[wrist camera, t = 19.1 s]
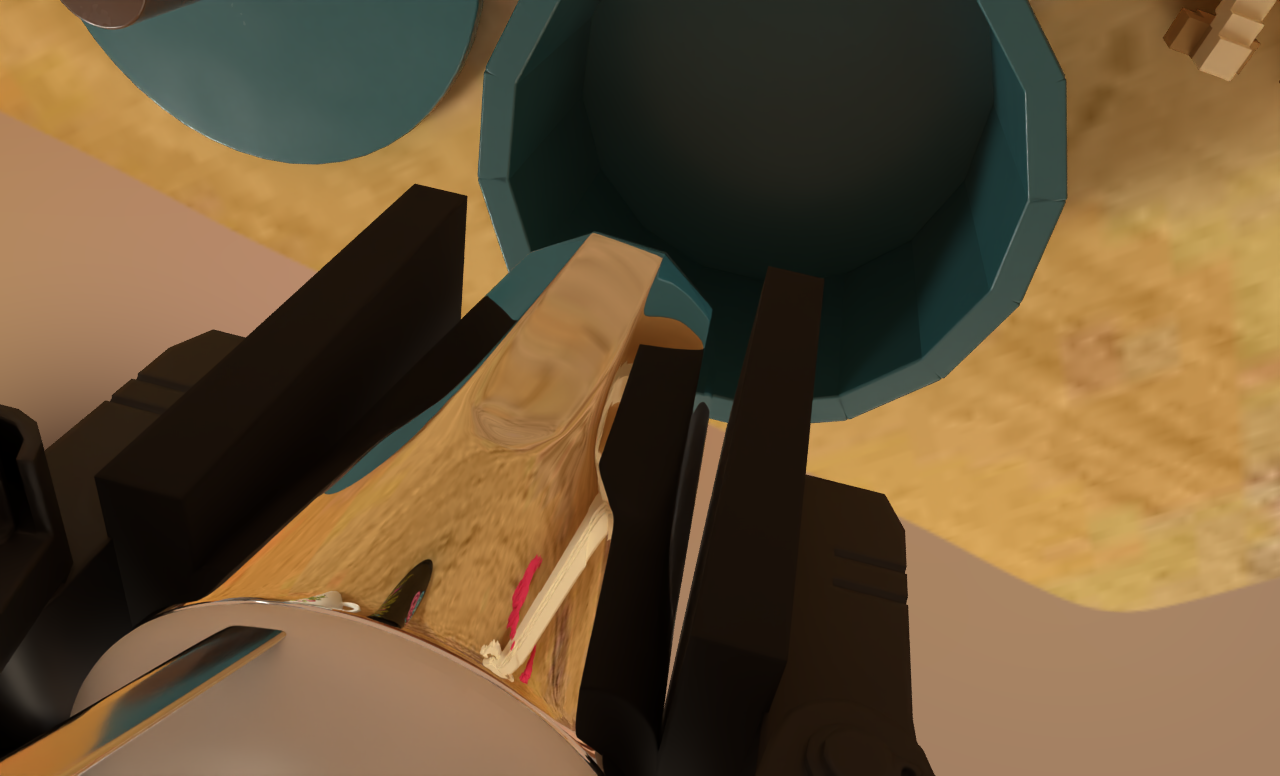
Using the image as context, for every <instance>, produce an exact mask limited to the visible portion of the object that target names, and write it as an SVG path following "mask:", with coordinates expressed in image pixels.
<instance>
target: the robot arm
mask: <svg viewBox="0 0 1280 776" xmlns="http://www.w3.org/2000/svg"><path fill="white" fill-rule="evenodd" d="M466 213H467V196H465V195H461V194H457V193H453V192H448V191H444V190H440V189H435V188H431V187H427V186H422V185H418V184H414V185H413V186H412V187H411V188H409V189H408V190H407V191H406V192H405V193H404V194H403V195H402V196H401V197H400V198H399V199H397V200H396V201H395V202H394V203H393V204H392V205H391V206H390V207H389V208H388V209H386V210H385V211H384V212H383V213H382V214H381V215H380V216H379V217H378V218H377V219H375V220H374V221H373V222H372V223H371V224H370V225H369V226H368V227H367V228H366V229H365V230H363V231H362V232H361V233H360V234H359V235H358V236H357V237H356V238H355V239H354V240H352V241H351V242H350V243H349V244H348V245H347V246H346V247H345V248H344V249H343V250H341V251H340V252H339V253H338V254H337V255H336V256H335V257H334V258H333V259H332V260H331V261H329V262H328V263H327V264H326V265H325V266H324V267H323V268H322V269H321V270H320V271H318V272H317V273H316V274H315V275H314V276H313V277H312V278H311V279H310V280H309V281H308V282H306V283H305V284H304V285H303V286H302V287H301V288H300V289H299V290H298V291H297V292H295V293H294V294H293V295H292V296H291V297H290V298H289V299H288V300H287V301H286V302H284V304H282V305H281V306H280V307H279V308H278V309H277V310H276V311H275V312H274V313H272V314H271V315H270V316H269V317H268V318H267V319H266V320H265V321H264V322H263V323H261V324H260V325H259V326H258V327H257V328H256V329H255V330H254V331H253V332H252V333H250V334H249V335H248V336H247V337H246V338H245V337H241V336H237V335H232V334H229V333H225V332H221V331H217V330H211V331H208V332H206V333H204V334H201V335H199V336H196V337H194V338H192V339H189V340H187V341H184V342H182V343H179V344H177V345H175V346H172V347H170V348H168V349H167V350H166V351H165V352H163V353H162V354H161V355H160V356H159V357H158V358H156V359H155V360H154V361H153V362H151V363H150V364H149V365H148V366H147V367H145V368H144V369H143V370H142V371H140V372H139V373H138V377H137V379H136V380H135V379H131V380H130V381H128V382H127V383H126V384H125V385H124V386H123V387H121V388H120V389H119V390H117V391H116V392H115V393H114V394H113V395H112V399H111V401H110V402H109V401H104V402H103V403H102V404H101V405H99V406H98V407H97V408H96V409H95V410H93V411H92V412H91V413H90V414H88V415H87V416H86V417H85V418H84V419H82V420H81V421H80V422H79V423H78V424H76V425H75V426H74V427H73V428H72V429H70V430H69V431H68V432H67V433H66V434H64V435H63V436H62V437H61V438H60V439H58V440H57V441H56V442H55V443H53V444H52V445H51V446H50V447H49V448H47V449H46V450H45V451H44V447H43V443H42V440H41V436H40V433H39V429H38V425H37V422H35V421H34V420H33V419H31V418H30V417H29V416H27V415H26V414H24V413H23V412H22V411H20V410H19V409H16V408H12V407H8V406H4V405H0V758H2V757H3V756H5V755H7V754H9V753H10V752H12V751H14V750H15V749H17V748H19V747H21V746H22V745H24V744H26V743H27V742H29V741H31V740H33V739H34V738H36V737H38V736H39V735H41V734H43V733H44V732H46V731H48V730H50V729H51V728H53V727H55V726H56V725H58V724H60V723H62V722H63V721H65V720H67V719H68V718H70V715H71V712H72V708H73V705H74V702H75V700H76V697H77V695H78V692H79V690H80V688H81V686H82V684H83V682H84V680H85V679H86V677H87V676H88V674H89V672H90V671H91V669H92V668H93V667H94V665H95V664H96V663H97V662H98V660H99V659H100V658H101V657H102V655H103V654H104V653H105V652H106V651H107V650H108V649H109V648H110V647H112V646H113V645H114V644H115V643H116V642H117V641H119V640H120V639H121V638H123V637H124V636H125V635H126V634H127V633H128V632H129V631H130V630H131V629H132V628H133V627H134V626H136V625H137V624H138V623H139V622H140V621H141V620H142V619H143V618H144V617H145V616H146V615H147V614H149V613H150V612H151V611H152V610H153V609H154V608H155V607H156V606H157V605H158V604H159V603H161V602H162V601H163V600H164V599H165V598H166V597H167V596H168V595H169V594H170V593H172V592H173V591H174V590H175V589H176V588H177V587H178V586H179V585H180V584H181V583H183V582H184V581H185V580H186V579H187V578H188V577H189V576H190V575H191V574H192V573H194V572H195V571H196V570H197V569H198V568H199V567H200V566H201V565H202V564H203V563H205V562H206V561H207V560H208V559H209V558H210V557H211V556H212V555H213V554H214V553H216V552H217V551H218V550H219V549H220V548H221V547H222V546H223V545H224V544H225V543H227V542H228V541H229V540H230V539H231V538H232V537H233V536H234V535H235V534H236V533H238V532H239V531H240V530H241V529H242V528H243V527H244V526H245V525H246V524H247V523H249V522H250V521H251V520H252V519H253V518H254V517H255V516H256V515H257V514H258V513H260V512H261V511H262V510H263V509H264V508H265V507H266V506H267V505H268V504H269V503H271V502H272V501H273V500H274V499H275V498H276V497H277V496H278V495H279V494H280V493H282V492H283V491H284V490H285V489H286V488H287V487H288V486H289V485H290V484H291V483H293V482H294V481H295V480H296V479H297V478H298V477H299V476H300V475H301V474H302V473H303V472H305V471H306V470H307V469H308V468H309V467H310V466H311V465H312V464H313V463H314V462H315V461H316V460H318V459H319V458H320V457H321V456H322V455H323V454H324V453H325V452H326V451H327V450H328V449H329V448H330V447H331V446H332V445H334V444H335V443H336V442H337V441H338V440H339V439H340V438H341V437H342V436H343V435H344V434H345V433H346V432H347V431H348V430H349V429H350V428H351V427H352V426H353V425H354V424H355V423H356V422H357V421H358V420H359V419H360V418H361V417H362V416H363V415H364V414H365V413H366V412H367V411H368V410H369V409H370V408H371V407H372V406H373V405H374V404H375V403H376V402H377V401H378V400H379V399H380V398H382V397H383V396H384V395H385V394H386V393H387V392H388V391H389V390H390V389H391V388H392V387H393V386H394V385H395V384H396V383H397V382H398V381H399V380H400V379H401V378H402V377H403V376H404V375H405V374H406V373H407V372H408V371H409V370H410V369H411V368H412V367H413V366H414V365H415V364H416V363H417V362H418V361H419V360H420V359H421V358H422V357H423V356H424V355H425V354H426V353H427V352H428V351H429V350H430V349H431V348H432V347H433V346H434V345H435V344H436V343H437V342H438V341H440V340H441V339H442V338H443V337H444V336H445V335H446V334H447V333H448V332H449V331H450V330H451V329H452V328H453V327H454V326H455V325H456V324H457V323H458V322H459V321H460V320H461V306H462V287H463V269H464V250H465V231H466ZM823 288H824V279H823V278H818V277H814V276H810V275H806V274H801V273H797V272H793V271H788V270H784V269H780V268H775V267H771V266H768V269H767V273H766V277H765V281H764V285H763V288H762V292H761V296H760V300H759V304H758V308H757V312H756V316H755V319H754V323H753V327H752V331H751V335H750V339H749V343H748V347H747V350H746V354H745V358H744V362H743V366H742V370H741V374H740V378H739V381H738V385H737V389H736V393H735V397H734V401H733V405H732V409H731V412H730V416H729V420H728V424H727V428H726V433H725V437H724V442H723V446H722V451H721V455H720V460H719V464H718V469H717V473H716V478H715V482H714V487H713V492H712V496H711V500H710V504H709V509H708V513H707V518H706V523H705V527H704V531H703V536H702V540H701V545H700V550H699V554H698V559H697V563H696V568H695V572H694V576H693V581H692V585H691V591H690V594H689V599H688V603H687V608H686V612H685V617H684V622H683V626H682V630H681V635H680V639H679V644H678V649H677V653H676V657H675V662H674V666H673V671H672V675H671V680H670V685H669V689H668V694H667V698H666V703H665V707H664V712H663V720H662V727H661V735H660V743H659V751H658V759H657V766H656V774H655V776H935V775H934V773H933V770H932V769H931V766H930V764H929V762H928V760H927V757H926V755H925V753H924V751H923V749H922V748H921V747H920V746H919V745H918V743H917V741H916V735H915V730H914V724H913V716H912V715H913V714H912V690H911V665H910V641H909V616H908V605H906V602H907V598H908V591H907V574H905V570H906V543H905V530H904V528H903V526H902V524H901V522H900V521H899V519H898V517H897V515H896V513H895V512H894V510H893V508H892V506H891V504H890V503H889V501H888V499H887V497H886V496H885V494H882V493H878V492H874V491H870V490H866V489H862V488H858V487H854V486H850V485H846V484H842V483H838V482H834V481H830V480H826V479H822V478H818V477H814V476H810V475H806V465H807V454H808V444H809V434H810V423H811V413H812V402H813V392H814V382H815V371H816V361H817V350H818V340H819V330H820V319H821V309H822V298H823Z"/></svg>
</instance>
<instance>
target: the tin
mask: <svg viewBox="0 0 1280 776" xmlns="http://www.w3.org/2000/svg"><path fill="white" fill-rule="evenodd" d="M478 181H479V184H480V187H481V190H482V193H483V197H484V200H485V203H486V206H487V209H488V212H489V215H490V218H491V221H492V224H493V227H494V230H495V233H496V236H497V239H498V242H499V245H500V248H501V251H502V254H503V257H504V260H505V263H506V266H507V269H508V272H510V271H511V270H512V269H513V268H514V267H515V266H516V265H517V264H518V263H519V262H520V261H521V260H522V259H523V258H524V257H526V256H527V255H528V254H529V253H530V252H532V251H535V250H538V249H541V248H544V247H547V246H550V245H553V244H556V243H559V242H562V241H565V240H568V239H571V238H574V237H577V236H580V235H583V234H586V233H589V232H592V231H599V232H602V233H605V234H608V235H611V236H615V237H618V238H621V239H624V240H628V241H631V242H634V243H638V244H641V245H644V246H647V247H651V248H654V249H658V250H661V251H664V252H666V253H667V254H668V255H669V256H670V257H671V259H672V260H673V261H674V262H675V263H676V265H677V266H678V267H679V268H680V269H681V271H682V272H683V273H684V274H685V275H686V276H687V278H688V279H689V280H690V281H691V282H692V283H693V285H694V286H695V287H696V288H697V289H698V291H699V292H700V293H701V294H702V295H703V296H704V297H705V299H706V300H707V301H708V302H709V303H710V304H711V306H712V307H713V324H714V341H715V357H716V379H715V386H714V392H713V398H712V404H711V410H710V416H709V418H710V419H714V420H718V421H723V422H727V423H728V420H729V416H730V412H731V409H732V405H733V401H734V397H735V393H736V389H737V385H738V381H739V378H740V374H741V370H742V366H743V362H744V358H745V354H746V350H747V347H748V343H749V339H750V335H751V331H752V327H753V323H754V319H755V316H756V312H757V308H758V304H759V300H760V296H761V292H762V288H763V285H764V281H765V277H766V273H767V269H768V266H771V267H775V268H780V269H784V270H788V271H793V272H797V273H801V274H806V275H810V276H814V277H818V278H823V279H824V288H823V298H822V309H821V319H820V330H819V340H818V350H817V361H816V371H815V382H814V392H813V402H812V413H811V423H820V422H832V421H845V420H847V419H852V418H854V417H856V416H858V415H861V414H863V413H865V412H868V411H870V410H872V409H875V408H877V407H879V406H881V405H884V404H886V403H888V402H891V401H893V400H895V399H898V398H900V397H902V396H904V395H907V394H909V393H911V392H914V391H916V390H918V389H920V388H923V387H925V386H927V385H930V384H932V383H934V382H937V381H939V380H940V379H941V378H945V377H946V376H947V375H948V374H949V373H950V372H951V371H952V370H953V369H954V368H955V367H956V366H957V365H958V364H959V363H960V362H961V361H962V360H963V359H964V358H966V357H967V356H968V355H969V354H970V353H971V352H972V351H973V350H974V349H975V348H976V347H977V346H978V345H979V344H980V343H981V342H982V341H983V340H984V339H985V338H986V337H987V336H988V335H989V334H990V333H992V332H993V331H994V330H995V329H996V328H997V327H998V326H999V325H1000V324H1001V323H1002V322H1003V321H1004V320H1005V319H1006V318H1007V317H1008V316H1009V315H1010V314H1011V313H1012V312H1013V311H1014V310H1015V309H1016V308H1018V307H1019V305H1020V303H1021V302H1022V300H1023V298H1024V296H1025V293H1026V291H1027V289H1028V287H1029V284H1030V282H1031V280H1032V278H1033V275H1034V273H1035V271H1036V269H1037V266H1038V264H1039V262H1040V259H1041V257H1042V255H1043V253H1044V250H1045V248H1046V246H1047V244H1048V241H1049V239H1050V237H1051V235H1052V232H1053V230H1054V228H1055V226H1056V223H1057V221H1058V219H1059V216H1060V214H1061V212H1062V210H1063V207H1064V205H1065V203H1066V200H1067V82H1066V79H1065V74H1064V72H1063V70H1062V68H1061V66H1060V64H1059V62H1058V60H1057V58H1056V56H1055V54H1054V52H1053V50H1052V48H1051V46H1050V44H1049V42H1048V40H1047V38H1046V36H1045V34H1044V32H1043V30H1042V28H1041V26H1040V24H1039V22H1038V20H1037V18H1036V16H1035V14H1034V12H1033V10H1032V8H1031V6H1030V4H1029V2H1028V0H519V1H518V3H517V5H516V7H515V9H514V11H513V13H512V15H511V17H510V19H509V21H508V23H507V25H506V27H505V29H504V31H503V33H502V35H501V37H500V39H499V41H498V43H497V45H496V47H495V49H494V51H493V53H492V55H491V57H490V59H489V61H488V63H487V65H486V70H485V72H484V80H483V97H482V113H481V130H480V146H479V162H478Z"/></svg>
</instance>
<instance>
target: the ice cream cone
mask: <svg viewBox="0 0 1280 776" xmlns="http://www.w3.org/2000/svg"><path fill="white" fill-rule="evenodd" d="M715 379H716V357H715V341H714V324H713V307H712V306H711V304H710V303H709V302H708V301H707V300H706V299H705V297H704V296H703V295H702V294H701V293H700V292H699V291H698V289H697V288H696V287H695V286H694V285H693V283H692V282H691V281H690V280H689V279H688V278H687V276H686V275H685V274H684V273H683V272H682V271H681V269H680V268H679V267H678V266H677V265H676V263H675V262H674V261H673V260H672V259H671V257H670V256H669V255H668V254H667V253H666V252H664V251H661V250H658V249H654V248H651V247H647V246H644V245H641V244H638V243H634V242H631V241H628V240H624V239H621V238H618V237H615V236H611V235H608V234H605V233H602V232H599V231H592V232H589V233H586V234H583V235H580V236H577V237H574V238H571V239H568V240H565V241H562V242H559V243H556V244H553V245H550V246H547V247H544V248H541V249H538V250H535V251H532V252H530V253H529V254H528V255H527V256H526V257H524V258H523V259H522V260H521V261H520V262H519V263H518V264H517V265H516V266H515V267H514V268H513V269H512V270H511V271H510V272H509V273H508V274H507V275H506V276H505V277H504V278H503V279H502V280H501V281H500V282H499V283H498V284H497V285H496V286H495V287H494V288H493V289H492V290H491V291H490V292H489V293H487V294H486V295H485V296H484V297H483V298H482V299H481V300H480V301H479V302H478V303H477V304H476V305H475V306H474V307H473V308H472V309H471V310H470V311H469V312H468V313H467V314H466V315H465V316H464V317H463V318H462V319H461V320H460V321H459V322H458V323H457V324H456V325H455V326H454V327H453V328H452V329H451V330H450V331H449V332H448V333H447V334H446V335H445V336H444V337H443V338H442V339H441V340H440V341H438V342H437V343H436V344H435V345H434V346H433V347H432V348H431V349H430V350H429V351H428V352H427V353H426V354H425V355H424V356H423V357H422V358H421V359H420V360H419V361H418V362H417V363H416V364H415V365H414V366H413V367H412V368H411V369H410V370H409V371H408V372H407V373H406V374H405V375H404V376H403V377H402V378H401V379H400V380H399V381H398V382H397V383H396V384H395V385H394V386H393V387H392V388H391V389H390V390H389V391H388V392H387V393H386V394H385V395H384V396H383V397H382V398H380V399H379V400H378V401H377V402H376V403H375V404H374V405H373V406H372V407H371V408H370V409H369V410H368V411H367V412H366V413H365V414H364V415H363V416H362V417H361V418H360V419H359V420H358V421H357V422H356V423H355V424H354V425H353V426H352V427H351V428H350V429H349V430H348V431H347V432H346V433H345V434H344V435H343V436H342V437H341V438H340V439H339V440H338V441H337V442H336V443H335V444H334V445H332V446H331V447H330V448H329V449H328V450H327V451H326V452H325V453H324V454H323V455H322V456H321V457H320V458H319V459H318V460H316V461H315V462H314V463H313V464H312V465H311V466H310V467H309V468H308V469H307V470H306V471H305V472H303V473H302V474H301V475H300V476H299V477H298V478H297V479H296V480H295V481H294V482H293V483H291V484H290V485H289V486H288V487H287V488H286V489H285V490H284V491H283V492H282V493H280V494H279V495H278V496H277V497H276V498H275V499H274V500H273V501H272V502H271V503H269V504H268V505H267V506H266V507H265V508H264V509H263V510H262V511H261V512H260V513H258V514H257V515H256V516H255V517H254V518H253V519H252V520H251V521H250V522H249V523H247V524H246V525H245V526H244V527H243V528H242V529H241V530H240V531H239V532H238V533H236V534H235V535H234V536H233V537H232V538H231V539H230V540H229V541H228V542H227V543H225V544H224V545H223V546H222V547H221V548H220V549H219V550H218V551H217V552H216V553H214V554H213V555H212V556H211V557H210V558H209V559H208V560H207V561H206V562H205V563H203V564H202V565H201V566H200V567H199V568H198V569H197V570H196V571H195V572H194V573H192V574H191V575H190V576H189V577H188V578H187V579H186V580H185V581H184V582H183V583H181V584H180V585H179V586H178V587H177V588H176V589H175V590H174V591H173V592H172V593H170V594H169V595H168V596H167V597H166V598H165V599H164V600H163V601H162V602H161V603H159V604H158V605H157V606H156V607H155V608H154V609H153V610H152V611H151V612H150V613H149V614H147V615H146V616H145V617H144V618H143V619H142V620H141V621H140V622H139V623H138V624H137V625H136V626H134V627H133V628H132V629H131V630H130V631H129V632H128V633H127V634H126V635H125V636H124V637H123V638H121V639H120V640H119V641H117V642H116V643H115V644H114V645H113V646H112V647H110V648H109V649H108V650H107V651H106V652H105V653H104V654H103V655H102V657H101V658H100V659H99V660H98V662H97V663H96V664H95V665H94V667H93V668H92V669H91V671H90V672H89V674H88V676H87V677H86V679H85V680H84V682H83V684H82V686H81V688H80V690H79V692H78V695H77V697H76V700H75V702H74V705H73V708H72V712H71V715H70V718H68V719H67V720H65V721H63V722H62V723H60V724H58V725H56V726H55V727H53V728H51V729H50V730H48V731H46V732H44V733H43V734H41V735H39V736H38V737H36V738H34V739H33V740H31V741H29V742H27V743H26V744H24V745H22V746H21V747H19V748H17V749H15V750H14V751H12V752H10V753H9V754H7V755H5V756H3V757H2V758H0V776H655V774H656V766H657V759H658V751H659V743H660V735H661V727H662V720H663V712H664V704H665V696H666V687H667V680H668V673H669V665H670V656H671V648H672V640H673V632H674V626H675V619H676V612H677V606H678V600H679V594H680V588H681V582H682V577H683V571H684V565H685V559H686V553H687V547H688V540H689V534H690V529H691V523H692V516H693V511H694V506H695V500H696V494H697V488H698V482H699V475H700V470H701V463H702V457H703V452H704V446H705V440H706V433H707V427H708V422H709V416H710V410H711V404H712V398H713V392H714V386H715Z"/></svg>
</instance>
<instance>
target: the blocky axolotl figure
mask: <svg viewBox="0 0 1280 776" xmlns="http://www.w3.org/2000/svg"><path fill="white" fill-rule="evenodd" d="M1276 1H1277V0H1222V1H1221V2H1220V4H1219V5H1218V7H1217V8H1216V9H1215V12H1216V14H1217V15H1216V16H1215V15H1212V14H1209V13H1207V12H1204V11H1201V10H1199V9H1197V10H1196V12H1193V11H1190V10H1187V9H1185V8H1182V9H1181V11H1180V12H1179V14H1178V16H1177V17H1176V19H1175V20H1174V22H1173V23H1172V25H1171V26H1170V28H1169V29H1168V31H1167V32H1166V34H1165V35H1164V37H1163V39H1164V41H1165V42H1166V44H1167V45H1168V47H1169V48H1171V49H1173V50H1176V51H1179V52H1181V53H1184V54H1187V55H1189V56H1190V58H1191V59H1192V61H1193V62H1194V64H1195V65H1196V66H1197V68H1198V69H1199V70H1200V71H1203V72H1206V73H1208V74H1211V75H1213V76H1216V77H1219V78H1221V79H1224V80H1227V81H1229V82H1230V80H1231V79H1232V78H1233V76H1234V75H1235V73H1237V74H1239V73H1240V72H1241V70H1242V69H1243V67H1244V66H1245V65H1246V63H1247V62H1248V61H1249V59H1250V58H1251V56H1252V55H1253V54H1254V52H1255V51H1256V49H1257V48H1258V47H1259V45H1260V43H1259V42H1258V41H1257V39H1256V36H1257V35H1258V34H1259V32H1260V31H1261V30H1262V28H1263V27H1264V24H1263V23H1262V20H1263V19H1264V17H1265V16H1266V15H1267V13H1268V12H1269V10H1270V9H1271V8H1272V6H1273V5H1274V3H1275V2H1276ZM1279 83H1280V81H1279Z"/></svg>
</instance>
